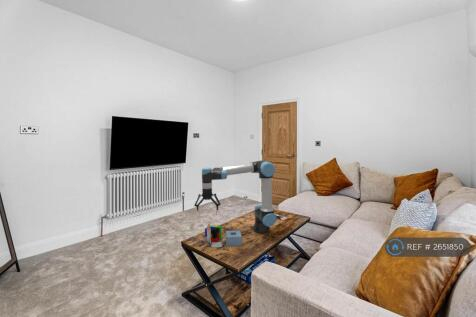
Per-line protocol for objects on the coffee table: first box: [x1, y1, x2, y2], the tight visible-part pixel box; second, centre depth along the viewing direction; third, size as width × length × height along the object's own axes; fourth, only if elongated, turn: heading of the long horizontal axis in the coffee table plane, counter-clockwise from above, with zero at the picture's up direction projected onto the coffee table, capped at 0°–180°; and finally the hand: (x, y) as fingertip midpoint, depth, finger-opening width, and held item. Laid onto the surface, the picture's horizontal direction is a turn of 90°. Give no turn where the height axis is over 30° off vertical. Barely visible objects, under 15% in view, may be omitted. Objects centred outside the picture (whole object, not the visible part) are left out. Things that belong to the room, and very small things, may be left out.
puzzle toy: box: [204, 224, 223, 243], centre depth 185 cm, size 10×10×10 cm
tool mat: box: [211, 241, 223, 249], centre depth 175 cm, size 8×8×1 cm
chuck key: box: [206, 223, 212, 248], centre depth 173 cm, size 3×8×16 cm, turn 5°
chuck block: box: [221, 229, 243, 247], centre depth 178 cm, size 16×12×8 cm
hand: (207, 214), depth 173 cm, fingers open, 13 cm apart
